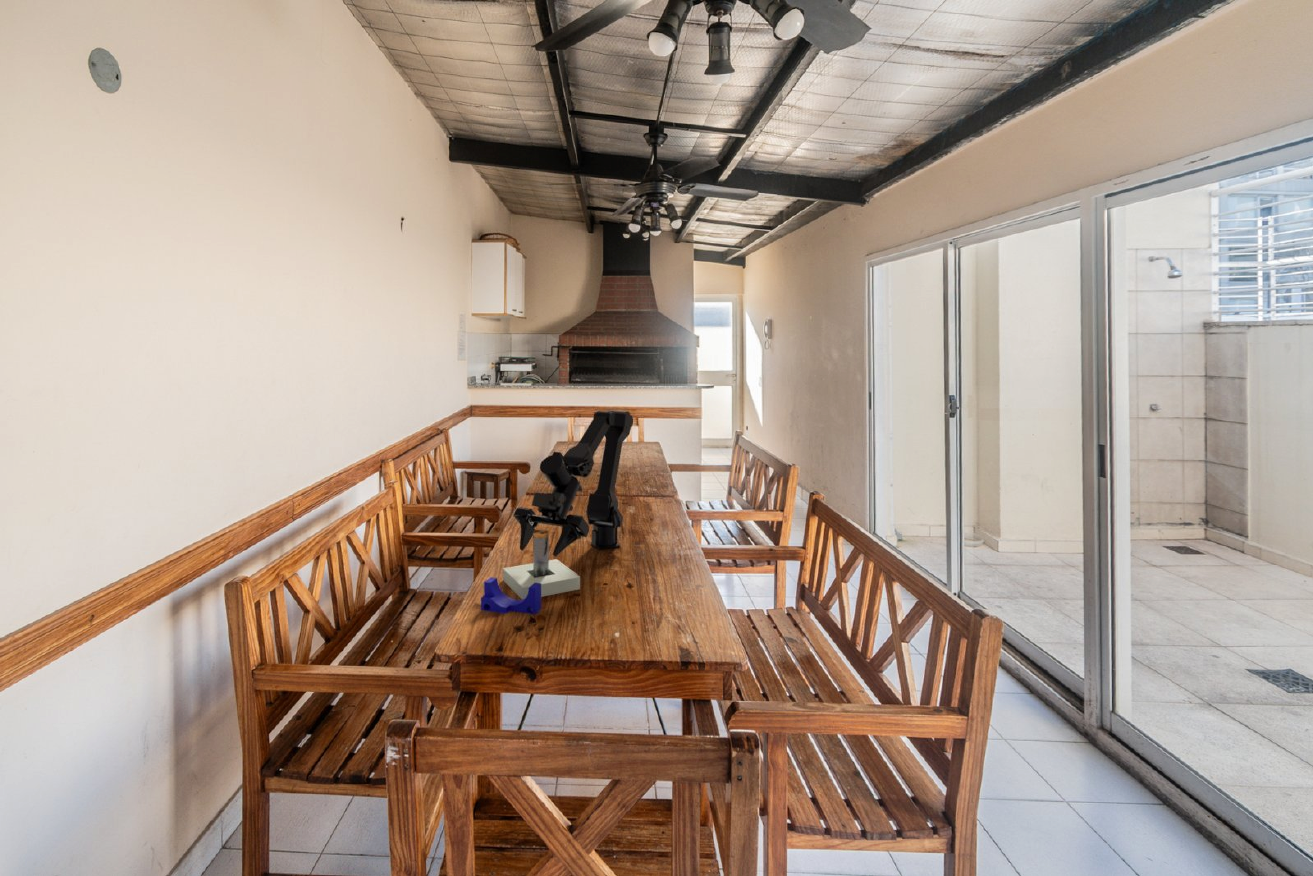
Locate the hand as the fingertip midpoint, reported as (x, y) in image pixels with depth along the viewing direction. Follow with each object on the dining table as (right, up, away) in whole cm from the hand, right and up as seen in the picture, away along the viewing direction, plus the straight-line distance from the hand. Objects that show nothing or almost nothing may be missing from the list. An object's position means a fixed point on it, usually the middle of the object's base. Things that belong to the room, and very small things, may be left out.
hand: (537, 552), depth 150 cm
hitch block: (0, -8, +3) cm, 8 cm away
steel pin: (0, -8, +3) cm, 8 cm away
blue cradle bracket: (-4, -11, -12) cm, 16 cm away
